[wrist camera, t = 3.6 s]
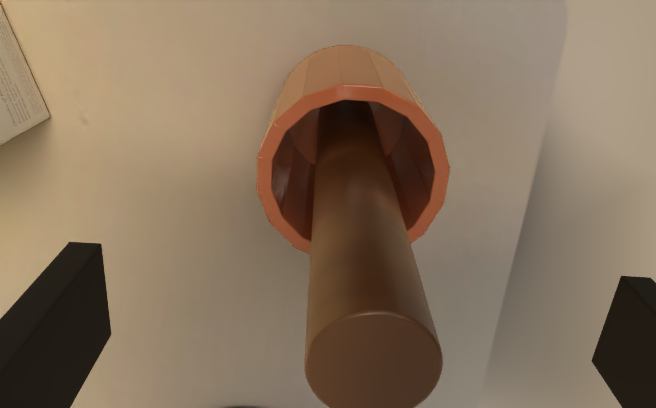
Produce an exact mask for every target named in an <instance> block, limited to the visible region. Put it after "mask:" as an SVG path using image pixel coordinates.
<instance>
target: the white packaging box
mask: <svg viewBox="0 0 656 408" xmlns="http://www.w3.org/2000/svg"><path fill="white" fill-rule="evenodd" d="M49 117H50V115H49V113H48V110H47V108H46V106H45V103H44V101H43V99H42V96H41V94H40V92H39V90H38V87H37V85H36V83H35V81H34V79H33V76H32V74H31V71H30V69H29V67H28V65H27V63H26V61H25V58H24V56H23V54H22V51H21V49H20V47H19V45H18V42H17V40H16V38H15V36H14V34H13V31H12V29H11V27H10V24H9V22H8V20H7V18H6V16H5V14H4V11H3V9H2V7H1V5H0V145H2V144H4V143H5V142H7V141H9V140H11V139H12V138H14V137H16V136H18V135H19V134H21V133H23V132H25V131H27V130H29V129H30V128H32V127H34V126H35V125H37V124H39V123H41V122H42V121H44V120H46V119H48V118H49Z"/></svg>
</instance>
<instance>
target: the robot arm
mask: <svg viewBox="0 0 656 408" xmlns="http://www.w3.org/2000/svg"><path fill="white" fill-rule="evenodd" d="M110 336H111V327H110V318H109V309H108V300H107V291H106V282H105V273H104V264H103V255H102V246H101V244H95V243H79V242H69V243H68V244H67V245H66V247H65V248H64V249H63V250H62V251H61V252H60V253H59V254H58V256H57V257H56V258H55V259H54V260H53V261H52V262H51V263H50V264H49V266H48V267H47V268H46V269H45V270H44V271H43V272H42V273H41V275H40V276H39V277H38V278H37V279H36V280H35V281H34V282H33V283H32V285H31V286H30V287H29V288H28V289H27V290H26V291H25V292H24V294H23V295H22V296H21V297H20V298H19V299H18V300H17V301H16V302H15V304H14V305H13V306H12V307H11V308H10V309H9V310H8V311H7V313H6V314H5V315H4V316H3V317H2V318H1V319H0V408H70V407H71V405H72V403H73V401H74V400H75V398H76V396H77V394H78V392H79V391H80V389H81V387H82V385H83V384H84V382H85V380H86V378H87V376H88V375H89V373H90V371H91V369H92V368H93V366H94V364H95V362H96V361H97V359H98V357H99V355H100V353H101V352H102V350H103V348H104V346H105V345H106V343H107V341H108V339H109V338H110ZM592 362H593V364H594V365H595V367H596V369H597V370H598V371H599V373H600V374H601V376H602V377H603V379H604V381H605V382H606V383H607V385H608V387H609V388H610V390H611V391H612V393H613V394H614V396H615V397H616V399H617V400H618V402H619V403H620V404H621V406H622V408H656V283H655V282H654V281H653V280H652V279H651V278H645V277H629V276H621V278H620V281H619V284H618V287H617V290H616V292H615V295H614V298H613V301H612V304H611V307H610V310H609V312H608V315H607V318H606V321H605V324H604V327H603V330H602V332H601V335H600V338H599V341H598V344H597V347H596V350H595V352H594V355H593V358H592Z"/></svg>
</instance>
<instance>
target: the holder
mask: <svg viewBox="0 0 656 408" xmlns="http://www.w3.org/2000/svg"><path fill="white" fill-rule="evenodd" d="M341 100H355V101H367V102H368V103H369V105H370V107H371V109H372V113H373V116H374V120H375V123H376V127H377V130H378V133H379V137H380V140H381V144H382V147H383V151H384V154H385V158H386V161H387V165H388V168H389V171H390V175H391V178H392V182H393V185H394V189H395V192H396V196H397V199H398V203H399V206H400V209H401V213H402V216H403V220H404V223H405V227H406V230H407V234H408V237H409V241H410V244H411V243H412V242H414V241H415V240H416V239H418V238H419V237H421V236H422V235H423V234H424V233H425V232H426V230H427V229H428V227H429V226H430V224H431V223H432V221H433V220H434V218H435V216H436V215H437V213H438V212H439V210H440V209H441V207H442V206H443V203H444V200H445V194H446V189H447V183H448V178H449V172H450V170H449V169H450V167H449V163H448V159H447V155H446V151H445V147H444V143H443V139H442V135H441V133H440V131H439V130H438V128H437V127H436V125H435V124H434V122H433V121H432V119H431V117H430V116H429V114H428V113H427V111H426V110H425V108H424V107H423V105H422V103H421V102H420V100H419V99H418V97H417V96H416V94H415V93H414V91H413V89H412V88H411V86H410V85H409V83H408V82H407V81H406V79H405V78H404V77H403V76H402V74H401V73H400V71H399V70H398V69H397V68H396V67H395V66H394V64H393V63H392V62H391V61H389V60H388V59H387V58H385V57H384V56H382V55H380V54H379V53H377V52H375V51H373V50H370V49H367V48H364V47H360V46H353V45H339V46H332V47H328V48H324V49H322V50H319V51H317V52H315V53H313V54H311V55H310V56H308V57H307V58H305V59H304V60H303V61H301V62H300V63H299V64H298V65H297V66H296V67H295V68H294V69H293V71H292V72H291V73H290V74H289V76H288V78H287V80H286V81H285V83H284V85H283V88H282V90H281V92H280V95H279V97H278V99H277V102H276V105H275V107H274V110H273V113H272V116H271V119H270V122H269V124H268V127H267V130H266V133H265V136H264V139H263V142H262V144H261V147H260V150H259V153H258V157H257V193H258V195H259V198H260V200H261V203H262V205H263V207H264V210H265V212H266V215H267V217H268V219H269V221H270V222H271V224H272V225H273V226H274V227H275V228H276V229H277V230H278V231H279V232H280V233H281V234H282V235H283V236H284V237H285V238H286V239H287V240H288V241H289V242H290V243H291V244H292V245H293V246H294V247H295V248H297V249H299V250H302V251H304V252H306V253H308V254H311V239H312V221H313V203H314V185H315V168H316V150H317V132H318V116H319V111H320V108H321V107H323V106H326V105H329V104H332V103H335V102H338V101H341Z"/></svg>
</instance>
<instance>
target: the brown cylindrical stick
mask: <svg viewBox="0 0 656 408" xmlns="http://www.w3.org/2000/svg"><path fill="white" fill-rule="evenodd" d="M442 365H443V359H442V352H441V348H440V344H439V341H438V337H437V334H436V330H435V327H434V323H433V320H432V317H431V313H430V310H429V306H428V303H427V299H426V296H425V292H424V289H423V285H422V282H421V279H420V275H419V272H418V268H417V265H416V261H415V258H414V254H413V251H412V247H411V244H410V241H409V237H408V234H407V230H406V227H405V223H404V220H403V216H402V213H401V209H400V206H399V203H398V199H397V196H396V192H395V189H394V185H393V182H392V178H391V175H390V171H389V168H388V165H387V161H386V158H385V154H384V151H383V147H382V144H381V140H380V137H379V133H378V130H377V127H376V123H375V120H374V116H373V113H372V109H371V107H370V105H369V103H368V102H367V101H355V100H341V101H338V102H335V103H332V104H329V105H326V106H323V107H321V108H320V111H319V116H318V132H317V150H316V168H315V185H314V203H313V221H312V239H311V256H310V274H309V292H308V309H307V327H306V345H305V374H306V378H307V381H308V383H309V385H310V387H311V389H312V391H313V392H314V393H315V395H316V396H317V397H318V398H319V399H320V400H321V401H322V402H323V403H324V404H326V405H327V406H328V407H330V408H414V407H416V406H417V405H418V404H420V403H421V402H422V401H424V400H425V399H426V398H427V397H428V396H429V395H430V393H431V392H432V391H433V389H434V388H435V386H436V385H437V383H438V380H439V378H440V375H441V371H442Z"/></svg>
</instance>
